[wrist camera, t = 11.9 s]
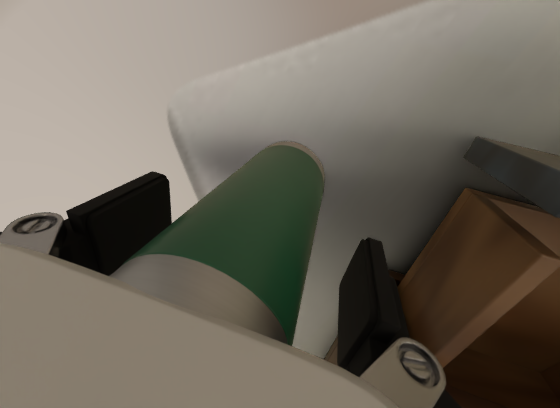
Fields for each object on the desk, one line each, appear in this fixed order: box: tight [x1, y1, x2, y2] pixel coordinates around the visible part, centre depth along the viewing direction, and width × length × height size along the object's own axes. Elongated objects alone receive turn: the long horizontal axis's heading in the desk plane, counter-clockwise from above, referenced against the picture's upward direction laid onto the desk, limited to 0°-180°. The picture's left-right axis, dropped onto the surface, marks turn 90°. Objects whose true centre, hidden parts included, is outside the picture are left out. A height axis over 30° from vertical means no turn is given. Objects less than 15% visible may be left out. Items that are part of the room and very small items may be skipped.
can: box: [109, 141, 325, 346], centre depth 11 cm, size 5×5×13 cm
